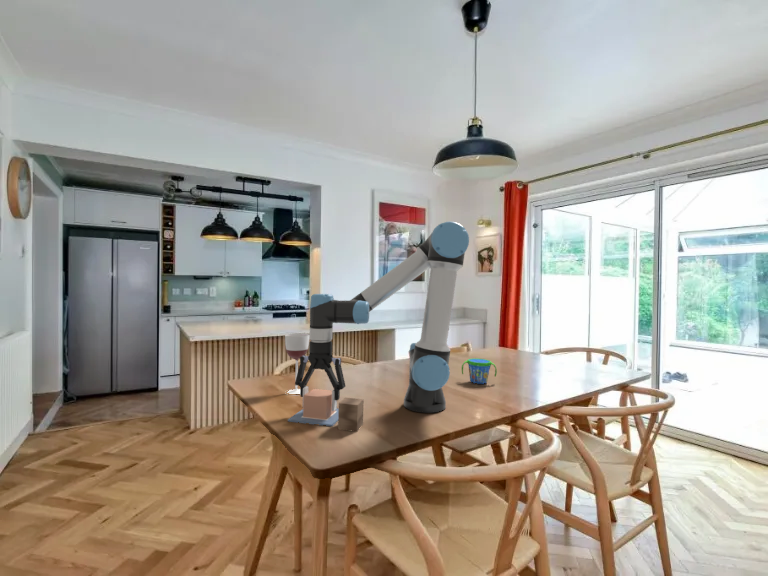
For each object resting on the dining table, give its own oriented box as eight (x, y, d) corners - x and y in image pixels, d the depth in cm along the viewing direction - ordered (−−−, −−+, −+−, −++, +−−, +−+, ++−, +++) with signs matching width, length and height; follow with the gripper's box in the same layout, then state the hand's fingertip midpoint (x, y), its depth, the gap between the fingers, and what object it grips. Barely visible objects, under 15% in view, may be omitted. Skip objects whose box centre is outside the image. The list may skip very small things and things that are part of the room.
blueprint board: (348, 411, 133) (348, 409, 133) (332, 426, 118) (332, 424, 118) (308, 406, 136) (308, 405, 136) (287, 421, 122) (287, 419, 122)
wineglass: (313, 391, 156) (314, 334, 156) (295, 396, 148) (297, 337, 147) (296, 387, 161) (297, 332, 161) (278, 393, 152) (279, 335, 152)
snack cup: (496, 381, 179) (496, 359, 179) (496, 387, 169) (497, 364, 169) (462, 378, 183) (462, 357, 183) (460, 383, 173) (460, 361, 173)
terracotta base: (335, 411, 130) (335, 390, 130) (326, 419, 122) (326, 397, 122) (313, 409, 132) (313, 388, 132) (303, 416, 124) (303, 395, 124)
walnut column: (363, 424, 120) (363, 399, 120) (357, 431, 115) (357, 405, 114) (344, 422, 122) (345, 397, 122) (338, 429, 116) (338, 403, 116)
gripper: (356, 340, 128) (355, 408, 128) (295, 337, 133) (294, 401, 133) (349, 344, 121) (347, 415, 121) (284, 340, 126) (283, 408, 126)
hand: (319, 408), depth 127 cm, fingers open, 9 cm apart
